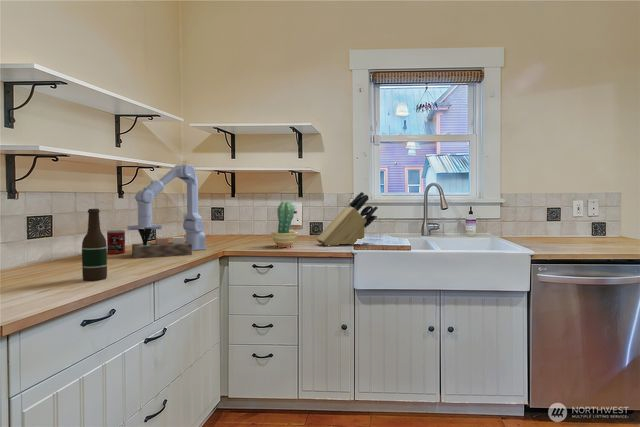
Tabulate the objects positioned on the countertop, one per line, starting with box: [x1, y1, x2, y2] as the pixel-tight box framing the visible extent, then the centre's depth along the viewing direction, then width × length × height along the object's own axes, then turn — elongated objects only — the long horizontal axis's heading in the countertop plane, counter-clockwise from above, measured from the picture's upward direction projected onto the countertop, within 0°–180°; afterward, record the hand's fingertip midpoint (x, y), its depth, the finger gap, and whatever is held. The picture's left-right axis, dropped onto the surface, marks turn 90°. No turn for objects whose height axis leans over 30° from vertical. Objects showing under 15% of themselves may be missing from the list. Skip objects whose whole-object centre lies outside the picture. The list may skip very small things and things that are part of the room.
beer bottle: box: [81, 208, 108, 282], centre depth 141 cm, size 8×8×24 cm
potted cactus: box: [270, 201, 299, 248], centre depth 228 cm, size 15×15×25 cm
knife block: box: [316, 191, 379, 246], centre depth 241 cm, size 11×35×31 cm, turn 112°
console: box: [131, 240, 193, 259], centre depth 197 cm, size 25×13×5 cm, turn 118°
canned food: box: [106, 229, 126, 255], centre depth 200 cm, size 8×8×11 cm
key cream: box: [171, 236, 186, 244], centre depth 200 cm, size 5×5×4 cm
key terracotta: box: [155, 236, 169, 245], centre depth 197 cm, size 5×5×4 cm
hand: (144, 245), depth 193 cm, fingers closed, pressing on key green
